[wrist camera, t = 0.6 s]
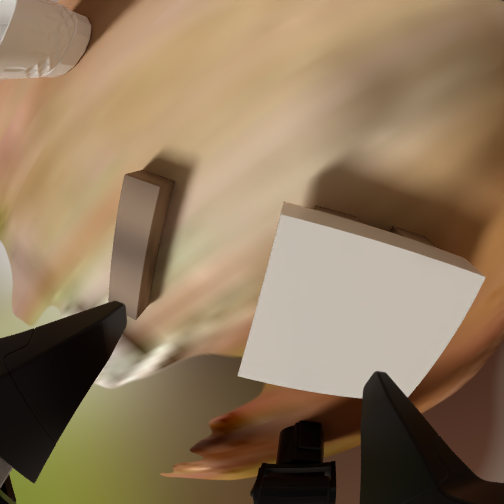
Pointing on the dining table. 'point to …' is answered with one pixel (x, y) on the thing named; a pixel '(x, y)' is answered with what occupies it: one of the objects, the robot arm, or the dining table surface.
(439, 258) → the slab
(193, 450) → the dining table surface
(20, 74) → the white cup
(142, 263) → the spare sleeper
